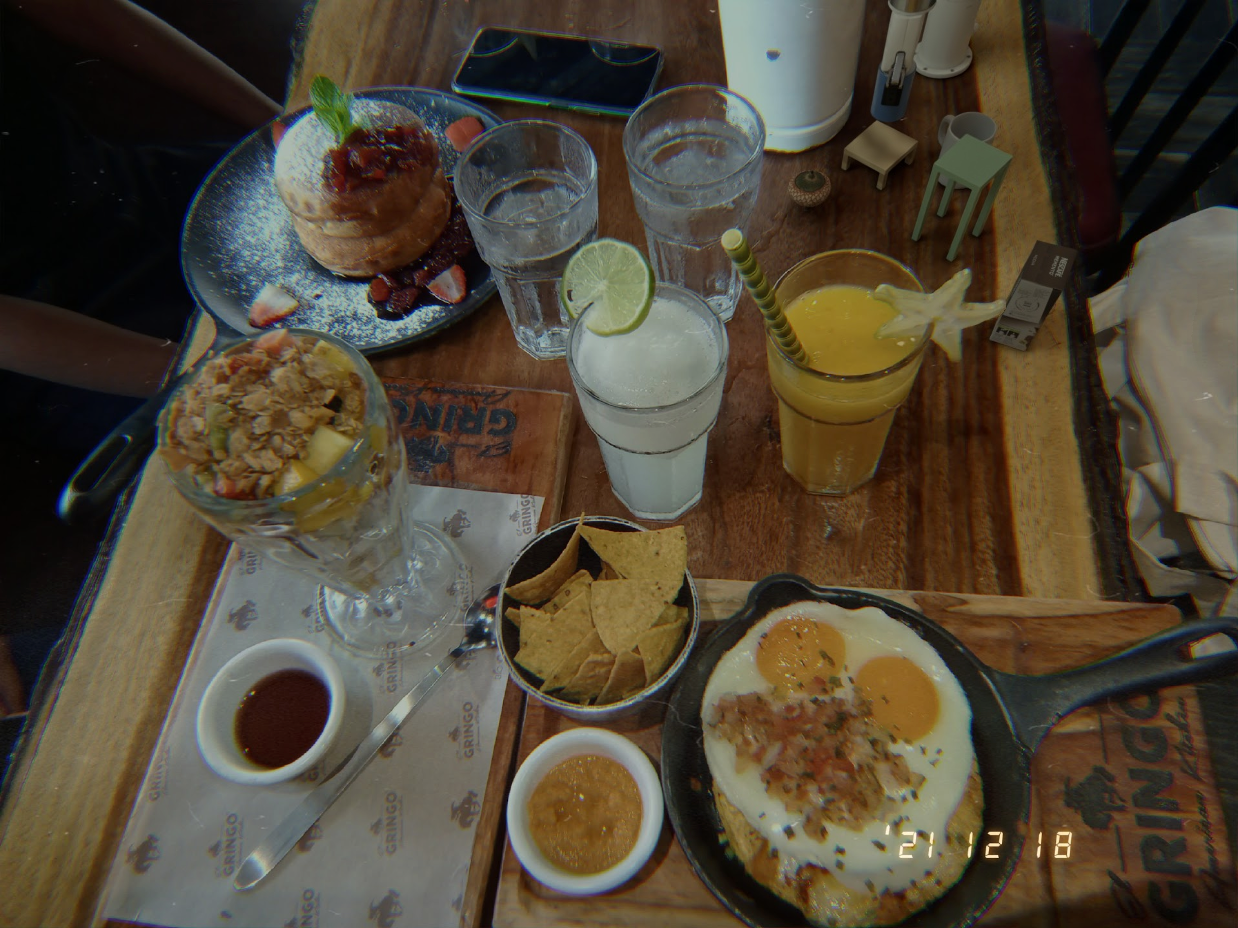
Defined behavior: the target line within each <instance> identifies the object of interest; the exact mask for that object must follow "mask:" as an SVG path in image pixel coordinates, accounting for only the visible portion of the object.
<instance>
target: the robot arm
mask: <svg viewBox="0 0 1238 928" xmlns="http://www.w3.org/2000/svg"><path fill="white" fill-rule="evenodd" d="M981 4H982V0H888V1H887V5H888V7H889V9H890V10H891V15H890V19H889V24H888V30H887V33H886V34H887V35H886V40H885V45H884V50H883V56H882V60H881V61H882V65H881V70H882V71H883V72H884V71H887V72H888V70H889V73H888V78H887V83H886V84H885V85H884V90H883V95H882V100H881V105H885V106H899V103H900V99H901V95H902V90H903V86H904V85H902V84H903V80H904V75H905V72H906V73H907V72H908V71H909V70H910V67H911V64H912V61H913V60H914V61H915V63H916V65H917V68H916V72H917V73H919V74H920V75H922V76H925V77H926V78H927V77H928V78H932V79H948V78H953V77H955V76H958V75H961V74H963V73H964V72H965V71H967V70H968V68H969V67H970V65H971V64H972V60H973V50H972V49H971V48H970V46H969V44H970V41H971V38H972V36H973V35H975V33H976V32H978V31H979V29H980V24H979V23H978V22H976V20H977V18H978V14H979V11H980V7H981ZM926 14H927V18H926ZM925 19H926V21H925ZM924 22H925V24H924ZM924 25H925V26H924ZM923 26H924V30H923ZM922 30H923V33H922ZM921 34H922V38H921ZM920 38H921V41H920ZM919 41H920V42H919ZM893 64H895V67H892V65H893ZM902 64H904V68H902ZM892 72H893V76H892V78H891V73H892ZM900 73H902V74H901V79H899V78H900ZM890 78H891V79H890Z"/></svg>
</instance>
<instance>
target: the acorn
mask: <svg viewBox="0 0 1238 928" xmlns="http://www.w3.org/2000/svg"><path fill="white" fill-rule="evenodd" d="M831 183H832V182H831V180H830V178H829V177H828V176H827V175H826V174H824V173H823V172H821V171H819V170H815V169H811V170H809V169H808V170H807V169H806V170H802V171H798V172H796V173H795V174H794V175H793V176H792V177H791V178H790V180H789V181H788V185H787V194H788V196H789V198H790V199H791V200H792V201H793V202H794V204H796V205H798V206H799V207H803V212H807V211H809V210H810V209H811V208H813V207H817V206H818V205H821V204H822V203H823V202H825V201H826V200H827V198H828V197H829V195H830V194H831V191H832V184H831Z"/></svg>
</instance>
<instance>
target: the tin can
mask: <svg viewBox="0 0 1238 928" xmlns="http://www.w3.org/2000/svg"><path fill="white" fill-rule="evenodd" d="M881 65H882V60H881V61H880V63H879V65H878V70H877V74H876V79H875V85H874V90H873V94H872V101H871V106H870V114H871V116H872V117H873V118H874V119H875V120H877V121H879V122H882V123H892V122H896V121H900V120H901V119H902V118H904V116H905V115H906V113H907V109H908V105H909V102H910V97H911V92H912V88H913V85H914V80H915V76H916V72H917V71H916V68H917V65H916V63H915V61H914V60H913V61H912V64H911V67H910V70H909V71H908V72H907V73H906V72H905V75H904V80H903V84H902V85H904V86H903V90H902V95H901V99H900V103H899V106H885V105H881V100H882V95H883V90H884V85H885V84H886V83H887V78H888V73H889V70H888V72H887V71H884V72H883V71H882V70H881ZM892 67H895V64H893V65H892ZM902 68H904V64H902ZM901 74H902V73H900V78H899V79H901ZM892 76H893V72H892V73H891V78H892ZM891 78H890V79H891Z"/></svg>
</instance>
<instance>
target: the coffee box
mask: <svg viewBox="0 0 1238 928" xmlns="http://www.w3.org/2000/svg"><path fill="white" fill-rule="evenodd" d="M1078 252H1079V251H1078V250H1077V249H1075V248H1071V247H1067V246H1063V245H1059V244H1055V243H1051V242H1050V243H1049V242H1047V241H1042V240H1040V239H1036V241H1035V243H1034V244H1033V247H1032V248H1031V250H1030V252H1029V254H1028V256H1027V258H1026V260H1025V262H1024V264H1023V266H1022V268H1021V270H1020V271H1019V274H1018V276H1017V278H1016V279H1015V282H1014V284H1013V286H1012V288H1011V290H1010V291H1009V294H1008V296H1007V297H1006V300H1005V301H1006V309H1005V310H1004V312H1003V313H1002V314H1001V315H1000V314H999V315H1000V316H999V315H998V318H997V320H996V322H995V324H994V326H993V329H992V332H991V335H990V336H989V341H992V342H995V343H998V344H1001V345H1004V346H1007V347H1011V348H1014V349H1016V350H1019V351H1023V352H1025V351H1026V350H1027V349H1028V347H1029V346H1030V345H1031V344H1032V343H1031V342H1032V341H1033V340H1034V338H1035V336H1036V335H1037V333H1038V331H1039V330H1040V328H1041V327H1042V325H1043V323H1044V322H1045V320H1046V319H1047V317H1048V315H1049V314H1050V312H1051V311H1052V310H1053V307H1054V306H1055V305H1056V303H1057V301H1059V300H1058V299H1059V298H1060V296H1061V295H1062V293H1063V292H1064V291H1065V288H1066V286H1067V282H1068V280H1069V277H1070V275H1071V271H1072V268H1073V266H1074V262H1075V260H1076V258H1077V255H1078Z"/></svg>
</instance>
